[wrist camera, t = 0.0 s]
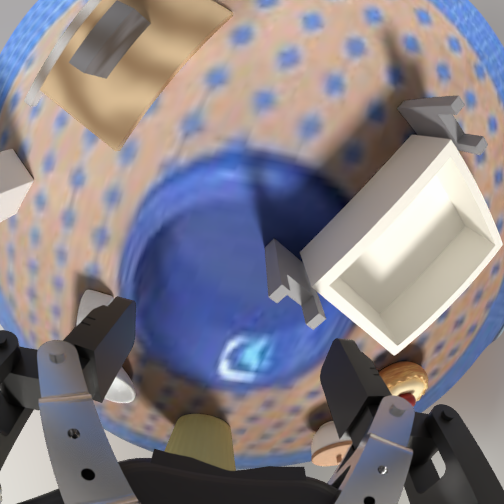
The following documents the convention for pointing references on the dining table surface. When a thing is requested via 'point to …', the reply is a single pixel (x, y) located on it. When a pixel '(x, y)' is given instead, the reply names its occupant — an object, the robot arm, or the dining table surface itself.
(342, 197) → the dining table surface
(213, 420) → the potted cactus
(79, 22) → the door
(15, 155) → the milk carton
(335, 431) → the lidded jar
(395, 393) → the pastry
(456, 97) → the white open box
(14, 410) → the robot arm
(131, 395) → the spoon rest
